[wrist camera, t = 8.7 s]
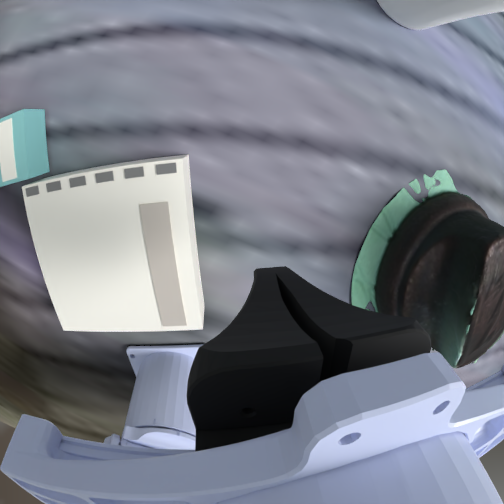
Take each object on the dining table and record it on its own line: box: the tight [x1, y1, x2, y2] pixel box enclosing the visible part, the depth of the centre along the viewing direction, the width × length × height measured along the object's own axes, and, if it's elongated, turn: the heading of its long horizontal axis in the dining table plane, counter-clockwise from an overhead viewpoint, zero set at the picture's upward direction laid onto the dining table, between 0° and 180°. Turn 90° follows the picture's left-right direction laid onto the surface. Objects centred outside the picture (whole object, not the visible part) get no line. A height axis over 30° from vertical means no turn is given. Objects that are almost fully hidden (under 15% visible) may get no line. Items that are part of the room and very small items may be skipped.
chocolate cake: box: [351, 170, 504, 368], centre depth 21 cm, size 20×20×9 cm
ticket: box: [22, 154, 204, 332], centre depth 19 cm, size 12×12×3 cm
